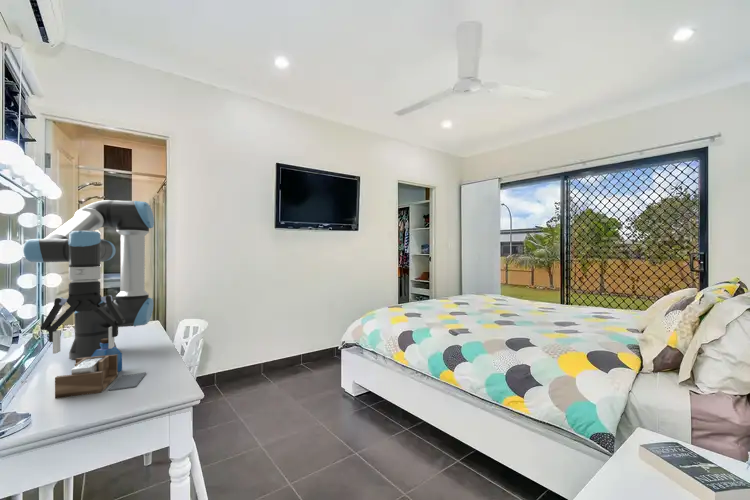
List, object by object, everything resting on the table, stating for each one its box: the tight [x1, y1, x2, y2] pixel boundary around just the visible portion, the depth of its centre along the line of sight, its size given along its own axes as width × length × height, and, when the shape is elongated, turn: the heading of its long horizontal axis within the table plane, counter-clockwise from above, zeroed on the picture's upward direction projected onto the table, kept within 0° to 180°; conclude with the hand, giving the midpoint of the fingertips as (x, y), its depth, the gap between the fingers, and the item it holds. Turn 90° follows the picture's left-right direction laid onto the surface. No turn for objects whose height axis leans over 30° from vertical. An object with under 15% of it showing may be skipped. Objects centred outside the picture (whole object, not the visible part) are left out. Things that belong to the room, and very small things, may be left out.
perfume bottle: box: [91, 338, 123, 373], centre depth 120 cm, size 6×6×12 cm
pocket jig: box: [54, 354, 119, 399], centre depth 108 cm, size 14×11×8 cm
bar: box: [71, 358, 103, 375], centre depth 107 cm, size 10×5×4 cm, turn 21°
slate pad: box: [107, 372, 147, 391], centre depth 111 cm, size 13×7×1 cm, turn 21°
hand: (84, 350), depth 105 cm, fingers open, 13 cm apart
